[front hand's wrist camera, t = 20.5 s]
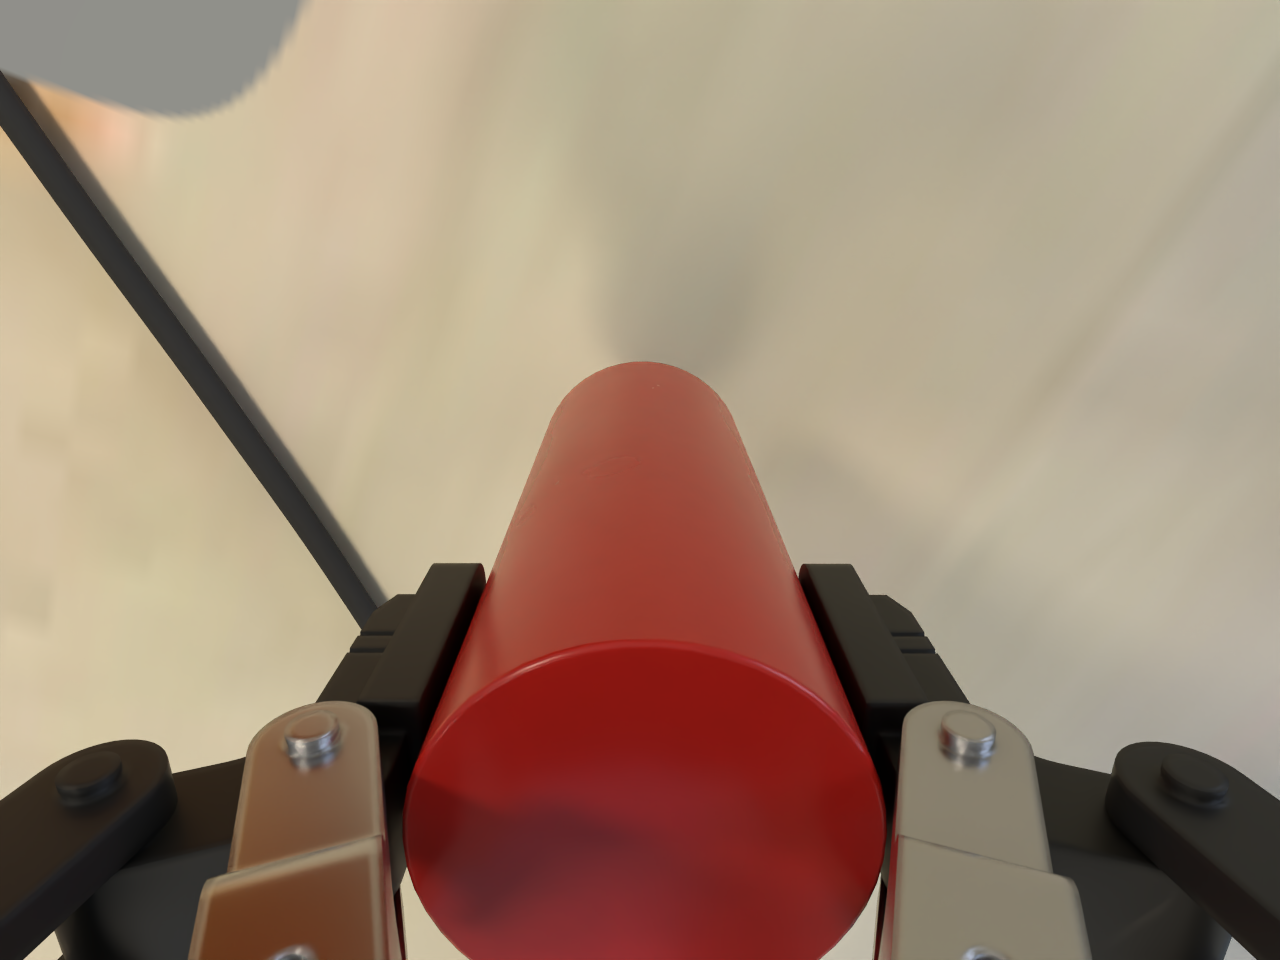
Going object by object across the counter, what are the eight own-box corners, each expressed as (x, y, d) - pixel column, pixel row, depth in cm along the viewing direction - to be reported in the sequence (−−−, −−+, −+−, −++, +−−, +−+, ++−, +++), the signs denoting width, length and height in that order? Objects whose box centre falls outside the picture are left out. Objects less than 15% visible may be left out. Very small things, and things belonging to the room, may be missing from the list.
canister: (618, 580, 20) (590, 1078, 9) (504, 434, 19) (295, 804, 8) (777, 481, 19) (974, 898, 8) (668, 320, 18) (717, 544, 7)
